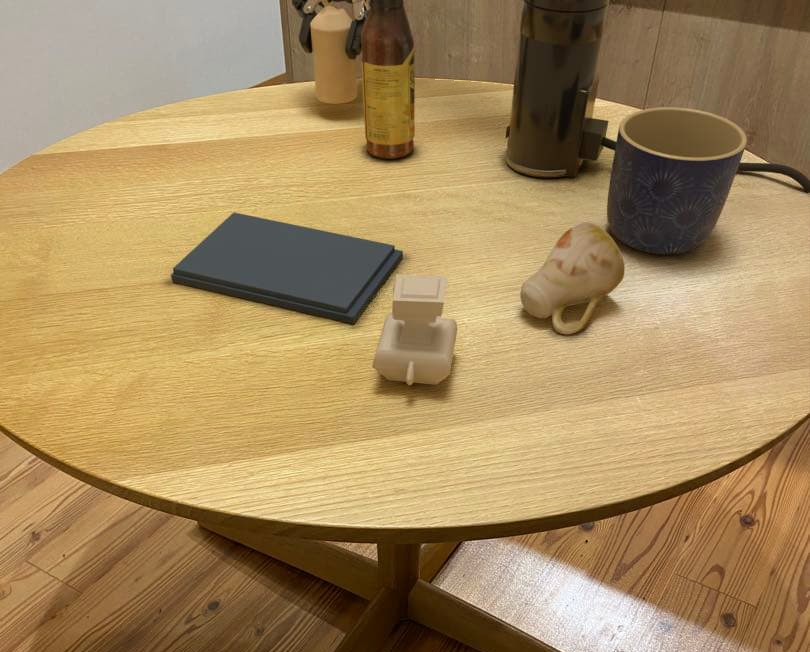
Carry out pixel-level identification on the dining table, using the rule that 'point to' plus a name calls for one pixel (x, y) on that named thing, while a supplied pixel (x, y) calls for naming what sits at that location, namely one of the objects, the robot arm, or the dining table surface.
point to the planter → (671, 177)
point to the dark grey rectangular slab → (289, 266)
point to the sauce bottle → (388, 80)
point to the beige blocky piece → (416, 332)
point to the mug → (574, 276)
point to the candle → (333, 57)
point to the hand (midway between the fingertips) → (328, 52)
